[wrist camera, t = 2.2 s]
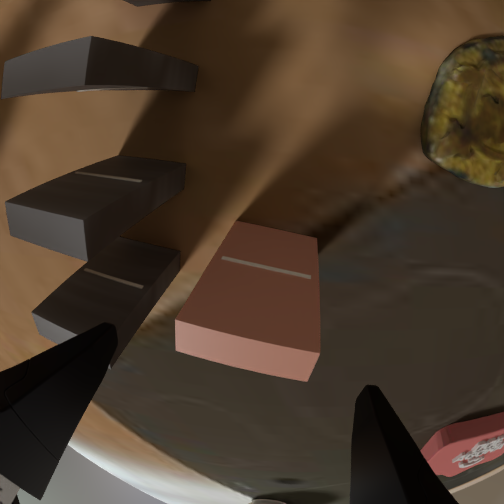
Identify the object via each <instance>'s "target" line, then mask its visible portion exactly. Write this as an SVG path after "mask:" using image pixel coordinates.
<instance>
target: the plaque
mask: <svg viewBox="0 0 504 504" xmlns="http://www.w3.org/2000/svg"><path fill="white" fill-rule="evenodd" d="M421 453H422V454H423V456H424V458H425V459H426V460H427V462H428V464H429V465H430V467H431V468H432V470H433V471H434V473H435V474H436V475H440V474H442V475H445V476H447V477H451V476H454V475H456V474H458V473H461V472H463V471H465V470H467V469H469V468H471V467H473V466H475V465H478V464H481V463H484V462H487V461H490V460H493V459H495V458H497V457H499V456H500V455H502V454H503V453H504V412H501V413H497V414H494V415H490V416H486V417H482V418H478V419H473V420H469V421H464V422H459V423H454V424H451V425H448V426H446V427H444V428H442V429H440V430H439V431H437V432H436V433H435V434H434V435H433V436H432V438H431V439H430V440H429V441H428V442H427V444H426V445H425V446H424V447H423V448H422V449H421Z"/></svg>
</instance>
